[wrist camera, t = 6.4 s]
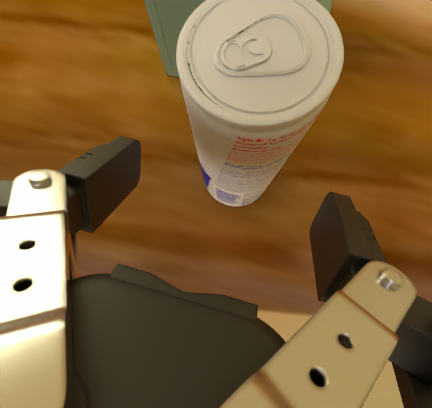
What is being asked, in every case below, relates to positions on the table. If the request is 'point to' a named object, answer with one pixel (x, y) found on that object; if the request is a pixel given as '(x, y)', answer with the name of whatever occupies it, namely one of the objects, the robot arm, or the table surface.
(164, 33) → the crate
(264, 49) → the beverage can
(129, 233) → the table surface
